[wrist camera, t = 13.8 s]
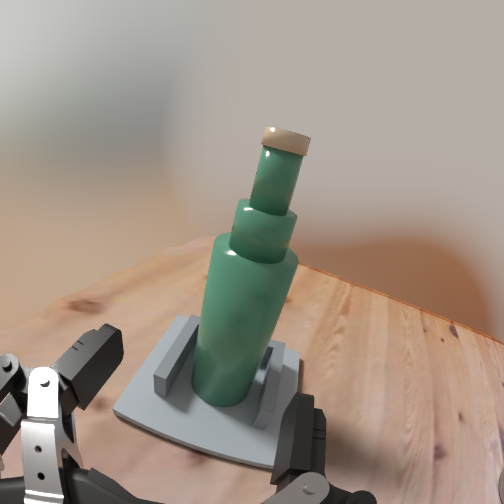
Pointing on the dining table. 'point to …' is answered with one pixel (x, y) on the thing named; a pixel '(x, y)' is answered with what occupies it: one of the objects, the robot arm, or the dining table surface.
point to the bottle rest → (206, 415)
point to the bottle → (249, 276)
